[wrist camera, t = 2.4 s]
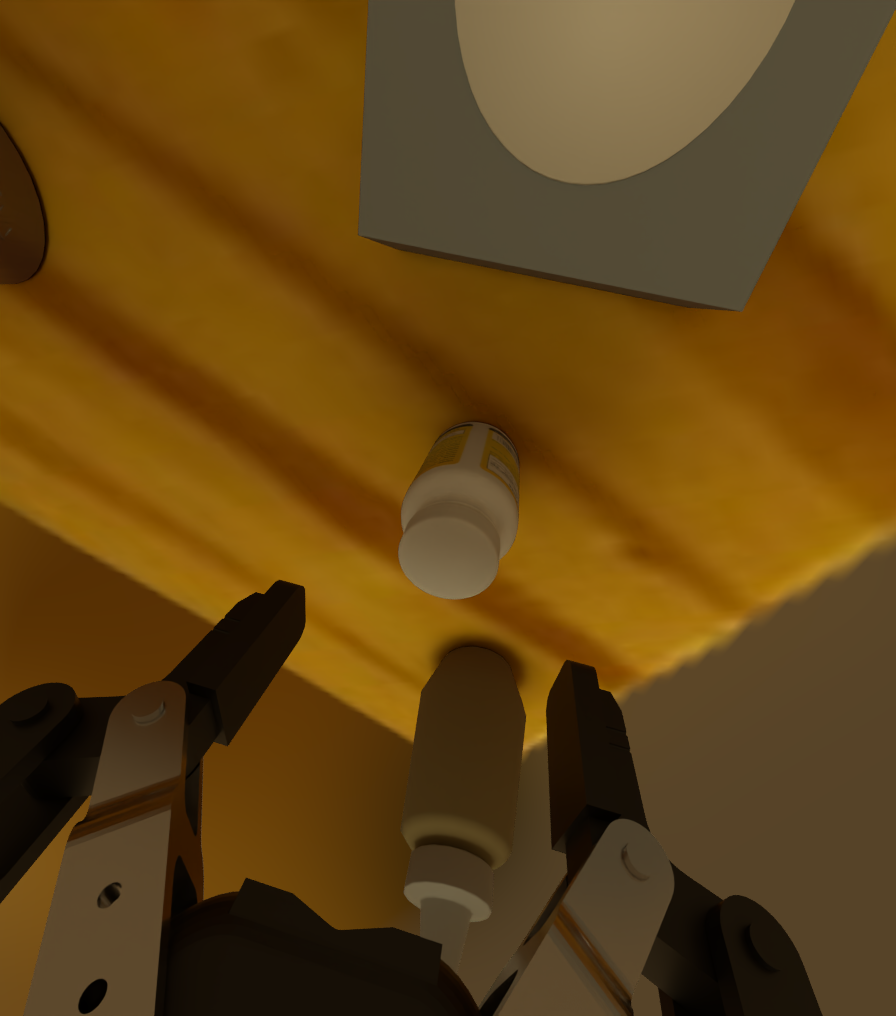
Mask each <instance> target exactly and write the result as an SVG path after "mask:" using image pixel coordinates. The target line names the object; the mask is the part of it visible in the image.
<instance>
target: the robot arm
mask: <svg viewBox="0 0 896 1016" xmlns="http://www.w3.org/2000/svg"><path fill="white" fill-rule="evenodd" d="M44 244H45V235H44V221H43V217H42V212H41V208H40V203H39V199H38V197H37V194H36V191H35V188H34V186H33V183H32V180H31V177H30V175H29V173H28V171H27V169H26V167H25V165H24V163H23V161H22V159H21V157H20V155H19V153H18V151H17V150H16V148H15V147H14V145H13V144H12V142H11V141H10V139H9V138H8V136H7V134H6V133H5V131H4V130H3V128H2V127H1V126H0V284H17V283H20V282H22V281H25V280H27V279H29V278H30V277H31V276H32V275H33V274H34V273H35V272H36V271H37V269H38V267H39V264H40V262H41V260H42V258H43V251H44ZM305 622H306V615H305V588H304V587H303V586H301V585H297V584H293V583H290V582H286V581H282V580H278V581H276V582H275V583H274V584H273V585H272V586H271V587H270V588H269V590H268V591H267V592H266V593H265V594H261V593H257V592H255V593H254V594H252V595H250V596H248V597H247V598H245V599H243V600H241V601H239V602H238V603H237V604H236V605H235V606H234V607H233V608H232V609H231V610H230V611H229V612H228V613H227V614H226V615H225V618H224V619H222V620H221V621H220V622H219V623H218V624H217V625H216V626H215V627H214V629H213V630H211V631H210V632H209V633H208V634H207V635H206V636H205V637H204V638H203V640H202V641H200V642H199V644H198V645H197V646H196V647H195V648H194V649H193V650H192V651H191V652H190V653H189V654H188V655H187V656H186V657H185V658H184V659H183V660H182V661H181V662H180V663H179V664H178V665H177V666H176V668H175V669H174V670H173V671H172V672H171V673H170V674H169V675H167V676H166V677H165V678H164V679H163V680H162V681H157V682H152V683H149V684H146V685H143V686H141V687H139V688H137V689H135V690H133V691H132V692H130V693H129V694H127V695H126V696H116V697H92V698H78V697H77V695H76V693H75V691H74V690H73V688H72V687H70V686H69V685H67V684H63V683H46V684H41V685H38V686H34V687H31V688H29V689H26V690H24V691H22V692H20V693H18V694H16V695H14V696H12V697H11V698H9V699H7V700H6V701H5V702H3V703H2V704H1V705H0V903H1V902H2V901H3V900H4V898H5V897H6V896H7V895H8V894H9V892H10V891H11V890H12V889H13V888H14V886H15V885H16V884H17V883H18V881H19V880H20V879H21V878H22V877H23V875H24V874H25V873H26V872H27V871H28V869H29V868H30V867H31V866H32V865H33V863H34V862H35V861H36V860H37V858H38V857H39V856H40V855H41V854H42V852H43V851H44V850H45V849H46V848H47V846H48V845H49V844H50V843H51V841H52V840H53V839H54V838H55V837H56V835H57V834H58V833H59V832H60V831H61V829H62V828H63V827H64V826H65V824H66V823H67V822H68V821H69V820H70V818H71V817H72V816H73V815H74V813H75V812H76V811H77V810H78V809H79V807H80V806H81V805H82V804H83V803H84V801H85V800H86V799H87V798H88V796H89V795H92V797H91V801H90V805H89V809H88V812H87V815H86V817H85V818H84V820H83V821H80V822H78V823H77V824H76V825H75V826H74V827H73V829H72V831H71V833H70V835H69V838H68V841H67V844H66V847H65V851H64V855H63V859H62V863H61V867H60V871H59V875H58V879H57V883H56V887H55V891H54V895H53V899H52V903H51V907H50V911H49V915H48V919H47V923H46V927H45V931H44V935H43V939H42V943H41V947H40V951H39V955H38V959H37V963H36V967H35V971H34V975H33V979H32V983H31V987H30V991H29V995H28V999H27V1003H26V1007H25V1011H24V1015H23V1016H634V1015H633V1009H632V1007H631V1000H632V996H633V993H634V990H635V987H636V985H637V982H638V980H639V977H640V975H641V974H642V975H644V976H645V977H646V978H647V979H649V980H650V981H651V982H652V983H654V984H655V985H656V986H657V987H658V990H659V997H660V1003H661V1010H662V1016H822V1013H821V1011H820V1008H819V1006H818V1003H817V1000H816V997H815V995H814V992H813V989H812V987H811V984H810V981H809V978H808V976H807V973H806V971H805V968H804V965H803V963H802V961H801V958H800V956H799V953H798V951H797V950H796V948H795V946H794V944H793V942H792V941H791V939H790V938H789V936H788V935H787V933H786V932H785V930H784V929H783V928H782V926H781V925H780V924H779V923H778V922H777V920H776V919H775V918H774V917H773V916H772V915H771V914H770V913H769V912H768V911H767V910H765V909H764V908H763V907H762V906H761V905H759V904H758V903H756V902H755V901H753V900H751V899H749V898H747V897H744V896H740V895H733V896H729V897H728V898H727V899H724V900H722V899H721V898H719V897H718V896H716V895H715V894H713V893H712V892H710V891H709V890H707V889H706V888H705V887H703V886H702V885H700V884H699V883H697V882H696V881H694V880H693V879H691V878H690V877H688V876H687V875H686V874H684V873H683V872H682V871H680V870H679V869H678V868H676V866H674V865H673V864H672V863H671V862H670V860H669V859H668V857H667V855H666V853H665V851H664V849H663V848H662V846H661V845H660V843H659V842H658V841H657V839H656V838H655V837H654V836H653V835H652V834H651V832H650V830H649V827H648V825H647V821H646V818H645V813H644V809H643V804H642V800H641V795H640V791H639V786H638V782H637V777H636V773H635V769H634V764H633V760H632V755H631V753H630V746H629V742H628V737H627V736H626V728H625V724H624V720H623V715H622V711H621V709H620V708H619V706H618V704H617V702H616V701H615V699H614V697H613V696H612V694H611V692H609V691H605V690H601V689H599V684H598V679H597V673H596V670H595V668H594V667H592V666H588V665H585V664H581V663H577V662H574V661H570V660H566V661H565V663H564V664H563V666H562V668H561V670H560V672H559V674H558V676H557V678H556V680H555V682H554V684H553V686H552V688H551V690H550V693H549V696H548V700H547V707H546V720H547V745H548V769H549V794H550V818H551V819H550V820H551V844H552V850H555V851H559V852H562V853H565V854H566V859H567V873H566V874H565V875H564V877H563V878H562V880H561V882H560V883H559V885H558V887H557V888H556V890H555V891H554V893H553V894H552V896H551V897H550V899H549V901H548V902H547V904H546V905H545V907H544V908H543V910H542V912H541V913H540V915H539V916H538V918H537V920H536V921H535V923H534V924H533V926H532V927H531V929H530V931H529V932H528V934H527V936H526V937H525V938H524V940H523V942H522V943H521V945H520V946H519V948H518V949H517V951H516V952H515V953H514V955H513V956H512V957H511V959H510V960H509V961H508V963H507V964H506V966H505V967H504V968H503V970H502V971H501V973H500V974H499V976H498V977H497V979H496V980H495V982H494V983H493V985H492V986H491V988H490V990H489V991H488V993H487V994H486V996H485V997H484V999H483V1001H482V1002H481V1004H480V1005H479V1007H478V1006H477V1004H476V1003H475V1001H474V999H473V997H472V995H471V994H470V992H469V990H468V989H467V988H466V986H465V985H464V983H463V982H462V981H461V979H460V978H459V976H458V975H457V974H456V973H455V972H454V971H453V970H452V969H451V968H450V966H449V965H447V964H446V963H445V962H444V961H443V960H441V952H442V945H443V944H440V943H438V942H435V941H432V940H429V939H426V938H423V937H420V936H417V935H414V934H411V933H408V932H405V931H402V930H399V929H396V928H393V927H390V928H372V929H353V930H337V929H335V928H333V927H332V926H330V925H329V924H328V923H327V922H326V921H324V920H323V919H322V918H321V917H320V916H318V915H317V914H316V913H315V912H314V911H313V910H311V909H310V908H309V907H308V906H307V905H306V904H304V903H303V902H302V901H301V900H300V899H299V898H297V897H296V896H295V895H294V894H293V893H290V892H287V891H284V890H281V889H278V888H275V887H272V886H269V885H266V884H263V883H260V882H257V881H254V880H251V879H248V878H246V879H245V881H244V883H243V885H242V887H241V889H240V891H239V892H229V893H225V894H220V895H217V896H214V897H211V898H209V899H206V900H203V895H204V870H203V857H202V848H201V822H202V787H203V786H202V785H203V756H204V755H205V753H206V752H207V750H208V749H209V748H210V746H211V745H212V743H213V742H216V743H219V744H223V745H225V746H228V745H229V743H230V742H231V740H232V739H233V738H234V736H235V734H236V733H237V732H238V730H239V729H240V727H241V726H242V724H243V723H244V721H245V720H246V718H247V717H248V715H249V714H250V712H251V711H252V709H253V708H254V706H255V705H256V703H257V702H258V700H259V699H260V698H261V696H262V694H263V693H264V691H265V690H266V689H267V687H268V686H269V684H270V683H271V681H272V680H273V678H274V677H275V675H276V674H277V672H278V671H279V669H280V668H281V666H282V665H283V663H284V662H285V661H286V659H287V658H288V656H289V655H290V653H291V652H292V650H293V649H294V647H295V646H296V644H297V643H298V641H299V639H300V638H301V635H302V633H303V630H304V627H305Z"/></svg>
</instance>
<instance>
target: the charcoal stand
mask: <svg viewBox="0 0 896 1016" xmlns="http://www.w3.org/2000/svg"><path fill="white" fill-rule="evenodd" d="M895 9H896V0H369V3H368V25H367V48H366V70H365V93H364V115H363V138H362V161H361V183H360V206H359V228H358V235H359V236H362V237H365V238H367V239H370V240H373V241H376V242H378V243H381V244H384V245H387V246H390V247H392V248H395V249H399V250H404V251H409V252H414V253H419V254H424V255H429V256H434V257H439V258H444V259H449V260H454V261H459V262H464V263H469V264H474V265H479V266H484V267H489V268H494V269H499V270H504V271H509V272H514V273H519V274H524V275H529V276H534V277H539V278H544V279H549V280H554V281H559V282H564V283H569V284H574V285H579V286H584V287H589V288H594V289H599V290H604V291H609V292H614V293H619V294H624V295H629V296H634V297H639V298H644V299H649V300H654V301H659V302H664V303H669V304H674V305H679V306H684V307H689V308H701V309H715V310H728V311H743V309H744V307H745V305H746V303H747V301H748V299H749V297H750V295H751V293H752V291H753V289H754V287H755V285H756V283H757V281H758V279H759V277H760V275H761V273H762V271H763V269H764V267H765V265H766V263H767V261H768V259H769V257H770V255H771V253H772V251H773V249H774V247H775V246H776V244H777V242H778V240H779V238H780V236H781V234H782V232H783V230H784V228H785V226H786V224H787V222H788V220H789V218H790V216H791V214H792V212H793V210H794V208H795V206H796V204H797V202H798V200H799V198H800V196H801V194H802V192H803V190H804V188H805V186H806V184H807V182H808V180H809V178H810V177H811V175H812V173H813V171H814V169H815V167H816V165H817V163H818V161H819V159H820V157H821V155H822V153H823V151H824V149H825V147H826V145H827V143H828V141H829V139H830V137H831V135H832V133H833V131H834V129H835V127H836V125H837V123H838V121H839V119H840V117H841V115H842V113H843V111H844V109H845V107H846V106H847V104H848V102H849V100H850V98H851V96H852V94H853V92H854V90H855V88H856V86H857V84H858V82H859V80H860V78H861V76H862V74H863V72H864V70H865V68H866V66H867V64H868V62H869V60H870V58H871V56H872V54H873V52H874V50H875V48H876V46H877V44H878V42H879V40H880V38H881V37H882V35H883V33H884V31H885V29H886V27H887V25H888V23H889V21H890V19H891V17H892V15H893V13H894V11H895Z"/></svg>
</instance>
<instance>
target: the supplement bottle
mask: <svg viewBox="0 0 896 1016" xmlns="http://www.w3.org/2000/svg"><path fill="white" fill-rule="evenodd" d="M518 512H519V459H518V454H517V451H516V449H515V447H514V445H513V443H512V442H511V440H510V439H509V438H508V437H507V436H506V435H505V434H504V433H503V432H502V431H500V430H499V429H497V428H496V427H493V426H491V425H489V424H485V423H480V422H466V423H461V424H458V425H455V426H453V427H451V428H449V429H448V430H446V431H445V432H444V433H443V434H442V435H441V436H440V437H439V438H438V439H437V441H436V442H435V444H434V445H433V447H432V449H431V451H430V452H429V454H428V456H427V458H426V460H425V462H424V463H423V465H422V467H421V468H420V470H419V472H418V474H417V475H416V477H415V479H414V481H413V482H412V484H411V485H410V487H409V489H408V491H407V493H406V495H405V498H404V500H403V504H402V509H401V522H402V529H403V532H404V533H403V536H402V538H401V540H400V544H399V549H398V556H399V562H400V565H401V568H402V570H403V571H404V573H405V575H406V576H407V577H408V579H409V580H410V581H411V582H412V583H413V584H414V585H416V586H417V587H418V588H420V589H421V590H423V591H424V592H426V593H429V594H431V595H434V596H437V597H440V598H445V599H463V598H468V597H472V596H474V595H477V594H479V593H480V592H482V591H484V590H485V589H486V588H487V587H488V586H489V585H490V584H491V583H492V581H493V580H494V578H495V576H496V574H497V571H498V565H499V560H500V559H501V558H502V557H503V556H504V555H505V554H506V553H507V552H508V550H509V549H510V548H511V546H512V544H513V542H514V540H515V537H516V533H517V528H518V518H519V513H518Z"/></svg>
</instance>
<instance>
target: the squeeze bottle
mask: <svg viewBox="0 0 896 1016" xmlns="http://www.w3.org/2000/svg"><path fill="white" fill-rule="evenodd" d="M525 722H526V714H525V711H524V707H523V703H522V700H521V697H520V694H519V691H518V688H517V686H516V683H515V680H514V677H513V674H512V671H511V668H510V665H509V664H508V663H507V662H506V661H505V660H504V659H503V657H502V656H500V655H498V654H496V653H494V652H493V651H491V650H488V649H484V648H480V647H475V646H474V647H461V648H458V649H455V650H453V651H450V652H449V653H448V655H447V656H446V657H445V658H444V659H443V660H442V662H441V663H440V665H439V666H438V668H437V669H436V670H435V672H434V673H433V675H432V676H431V678H430V679H429V681H428V682H427V684H426V685H425V687H424V688H423V689H422V691H421V698H420V704H419V711H418V717H417V724H416V731H415V737H414V744H413V751H412V757H411V764H410V770H409V777H408V784H407V791H406V797H405V803H404V811H403V817H402V823H401V832H402V834H403V836H404V838H405V840H406V841H407V843H408V845H409V846H410V848H411V849H412V853H411V858H410V863H409V868H408V872H407V878H406V882H405V887H404V894H405V896H406V897H407V898H408V900H409V901H410V902H411V903H413V904H414V905H416V906H417V907H418V908H420V909H421V917H420V918H421V919H420V920H421V921H420V922H421V923H420V937H423V938H426V939H429V940H432V941H435V942H438V943H440V944H443V945H442V952H441V960H443V961H444V962H445V963H446V964H447V965H449V966H450V968H451V969H452V970H453V971H454V972H455V973H456V974H457V972H458V968H459V964H460V960H461V955H462V952H463V948H464V943H465V939H466V935H467V931H468V927H469V923H470V922H479V921H482V920H485V919H487V918H488V917H489V915H490V914H491V912H492V902H493V883H494V882H493V881H494V874H493V872H492V870H494V869H496V868H498V867H500V866H501V865H502V864H503V863H504V862H506V861H507V860H508V858H509V856H510V854H511V852H512V846H513V836H514V827H515V816H516V807H517V798H518V788H519V778H520V769H521V760H522V750H523V741H524V731H525Z"/></svg>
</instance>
